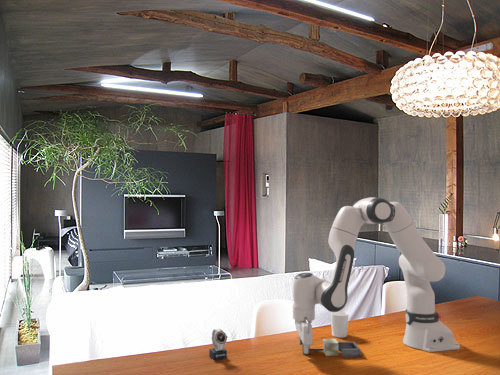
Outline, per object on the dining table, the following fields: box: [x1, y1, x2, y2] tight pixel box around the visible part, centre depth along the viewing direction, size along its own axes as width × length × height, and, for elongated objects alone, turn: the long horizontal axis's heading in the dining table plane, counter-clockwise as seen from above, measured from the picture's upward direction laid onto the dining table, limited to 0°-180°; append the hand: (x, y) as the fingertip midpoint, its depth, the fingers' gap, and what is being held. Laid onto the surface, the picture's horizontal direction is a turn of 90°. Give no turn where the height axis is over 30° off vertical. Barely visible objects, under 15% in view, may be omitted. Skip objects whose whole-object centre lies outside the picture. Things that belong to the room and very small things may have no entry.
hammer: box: [301, 338, 339, 357], centre depth 174 cm, size 14×5×5 cm, turn 93°
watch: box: [208, 328, 228, 361], centre depth 169 cm, size 6×8×11 cm
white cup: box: [330, 310, 349, 339], centre depth 195 cm, size 8×8×10 cm
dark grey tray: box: [337, 341, 362, 358], centre depth 174 cm, size 8×9×3 cm
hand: (303, 348), depth 173 cm, fingers open, 8 cm apart
